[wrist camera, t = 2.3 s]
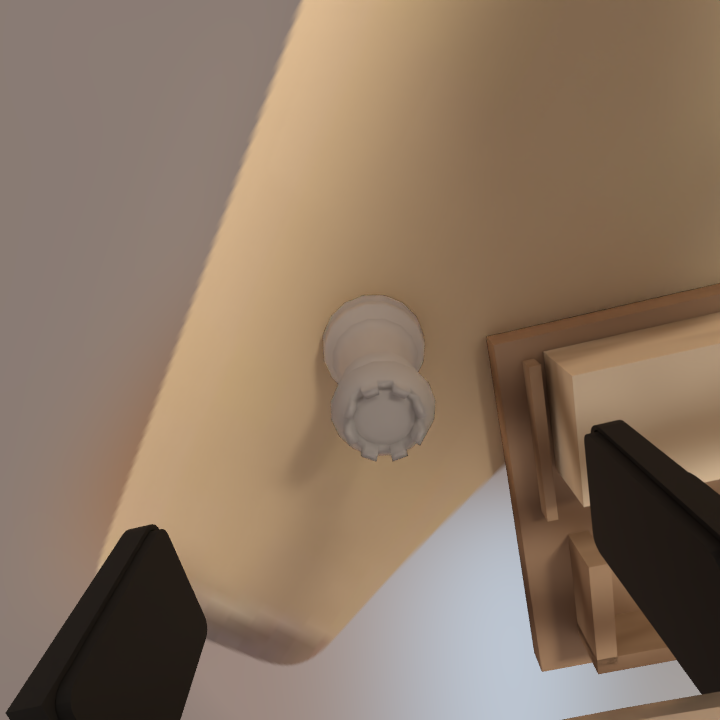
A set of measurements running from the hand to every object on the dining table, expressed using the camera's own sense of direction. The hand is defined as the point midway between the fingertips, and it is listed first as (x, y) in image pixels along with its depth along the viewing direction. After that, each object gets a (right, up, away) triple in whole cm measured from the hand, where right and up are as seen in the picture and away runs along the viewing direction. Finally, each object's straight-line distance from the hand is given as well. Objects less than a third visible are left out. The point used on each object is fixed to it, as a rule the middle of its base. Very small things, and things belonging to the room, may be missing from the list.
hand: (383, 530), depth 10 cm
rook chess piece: (0, +5, +11) cm, 12 cm away
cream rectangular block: (+12, +2, +11) cm, 16 cm away
